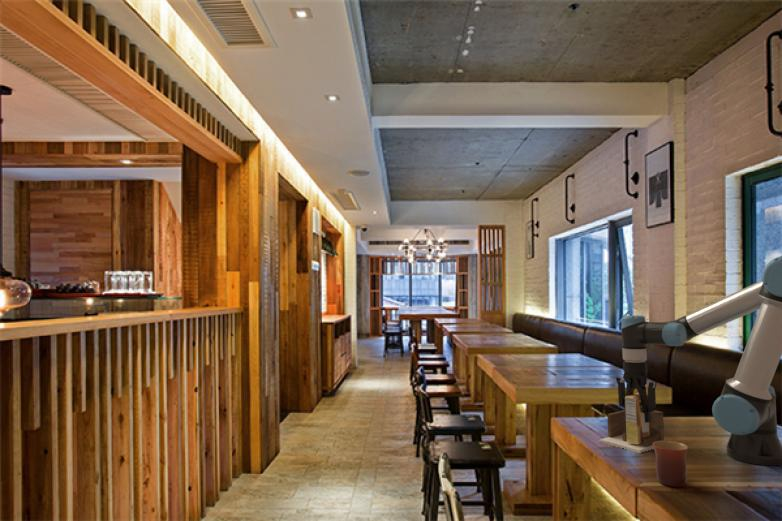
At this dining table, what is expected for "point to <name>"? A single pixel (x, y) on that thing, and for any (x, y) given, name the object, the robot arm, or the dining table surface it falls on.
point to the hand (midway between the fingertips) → (638, 429)
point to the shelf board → (625, 444)
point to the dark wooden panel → (616, 424)
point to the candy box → (634, 419)
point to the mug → (671, 463)
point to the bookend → (653, 429)
